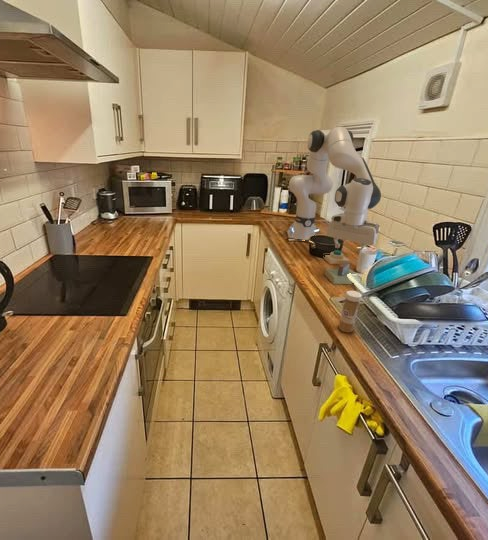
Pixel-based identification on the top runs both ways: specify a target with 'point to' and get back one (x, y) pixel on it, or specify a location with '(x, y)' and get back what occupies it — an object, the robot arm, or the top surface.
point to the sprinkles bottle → (349, 311)
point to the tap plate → (337, 279)
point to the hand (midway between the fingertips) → (347, 250)
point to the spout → (343, 269)
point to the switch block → (336, 258)
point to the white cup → (365, 260)
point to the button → (337, 252)
